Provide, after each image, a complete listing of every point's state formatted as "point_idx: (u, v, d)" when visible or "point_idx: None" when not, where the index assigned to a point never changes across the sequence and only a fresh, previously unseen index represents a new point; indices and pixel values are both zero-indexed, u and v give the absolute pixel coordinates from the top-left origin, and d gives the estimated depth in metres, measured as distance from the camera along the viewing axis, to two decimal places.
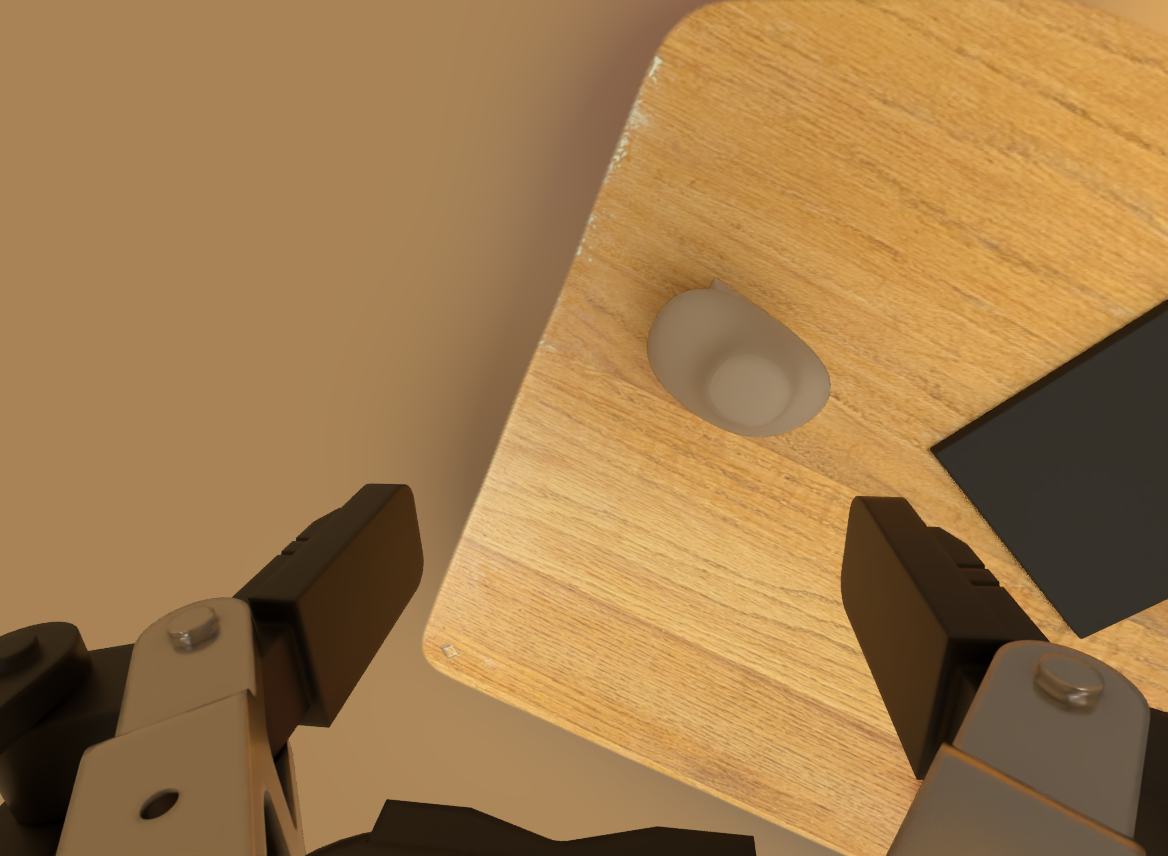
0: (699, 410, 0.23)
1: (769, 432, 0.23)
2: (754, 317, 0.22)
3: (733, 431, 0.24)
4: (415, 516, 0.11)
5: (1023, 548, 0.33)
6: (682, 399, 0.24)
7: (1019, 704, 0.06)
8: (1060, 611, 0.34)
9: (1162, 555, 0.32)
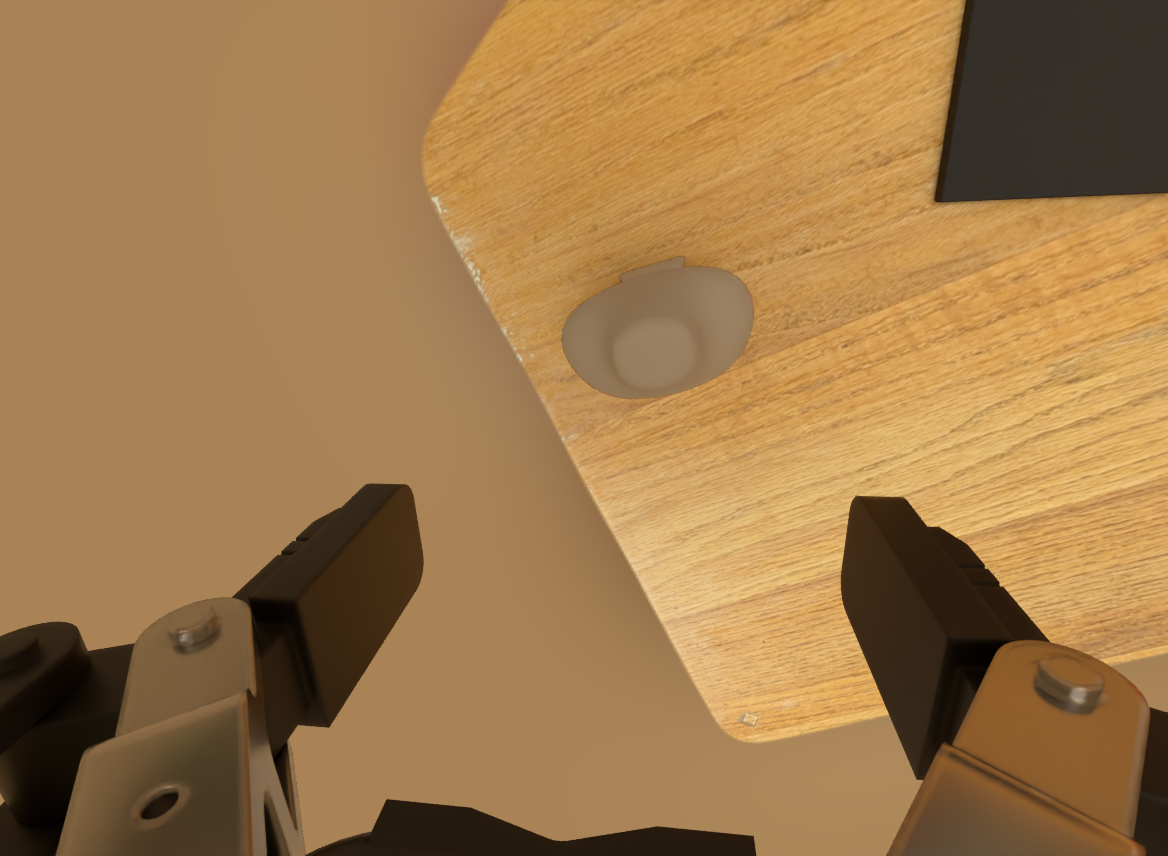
0: (661, 393, 0.23)
1: (727, 354, 0.22)
2: (617, 295, 0.22)
3: (705, 380, 0.23)
4: (415, 516, 0.11)
5: (1135, 180, 0.26)
6: (644, 397, 0.24)
7: (1019, 704, 0.06)
8: None
9: None
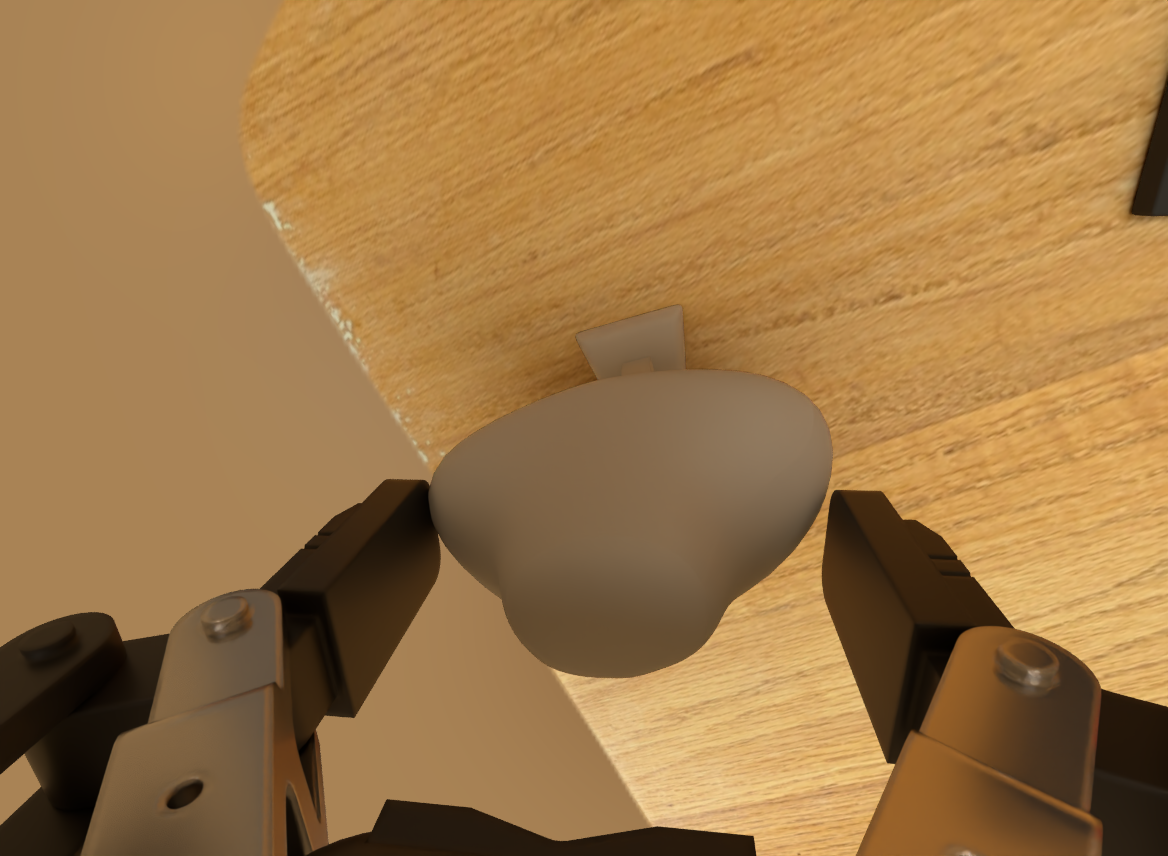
0: None
1: (777, 561, 0.10)
2: (532, 438, 0.10)
3: None
4: None
5: None
6: None
7: (981, 688, 0.06)
8: None
9: None
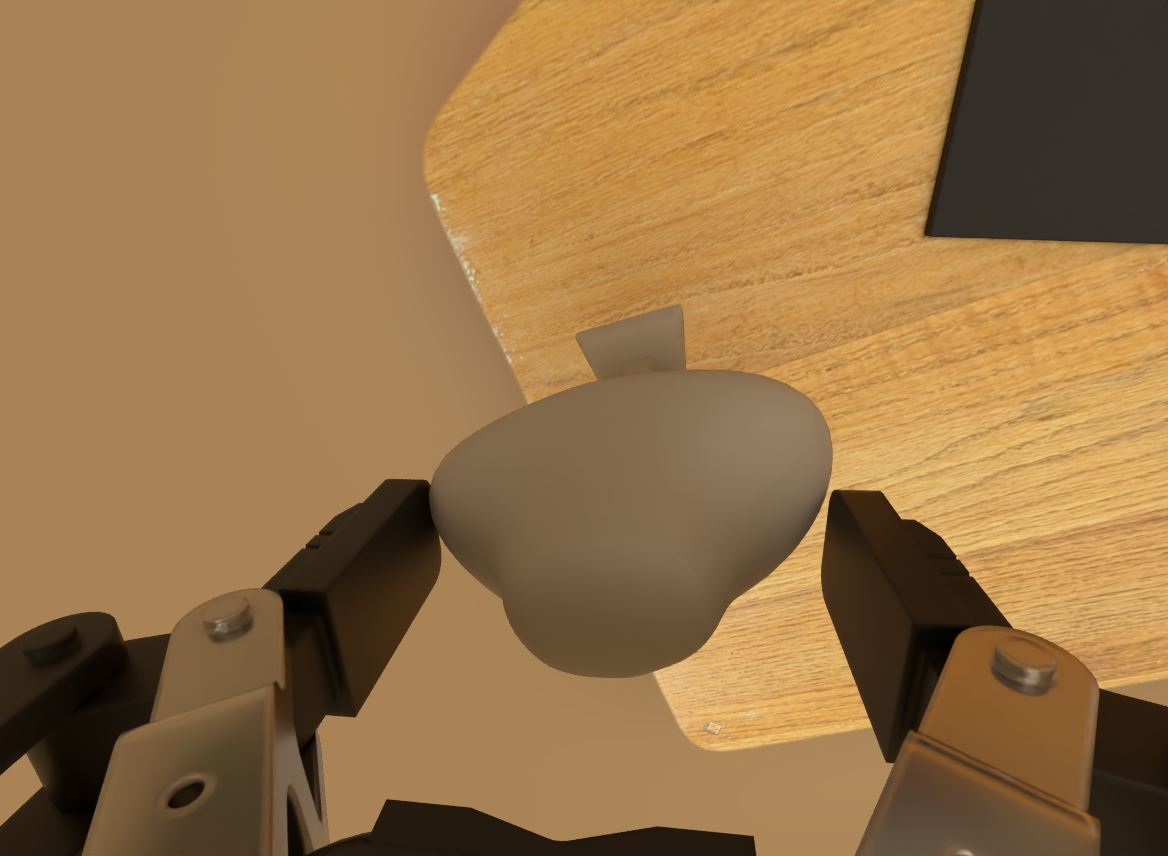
0: None
1: (778, 562, 0.10)
2: (532, 439, 0.10)
3: None
4: None
5: (1117, 228, 0.26)
6: None
7: (979, 688, 0.06)
8: None
9: None
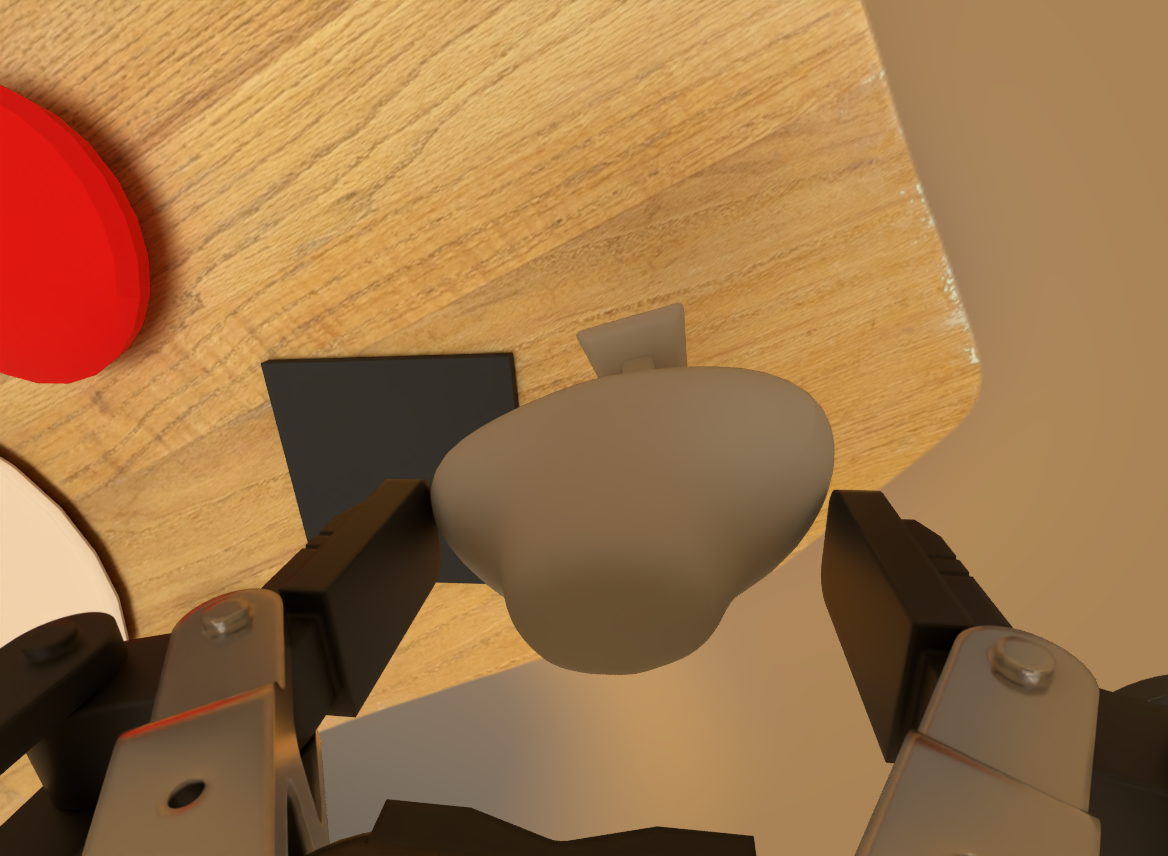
0: None
1: (779, 558, 0.10)
2: (534, 436, 0.10)
3: None
4: None
5: (379, 369, 0.34)
6: None
7: (979, 688, 0.06)
8: (298, 363, 0.34)
9: (325, 452, 0.36)
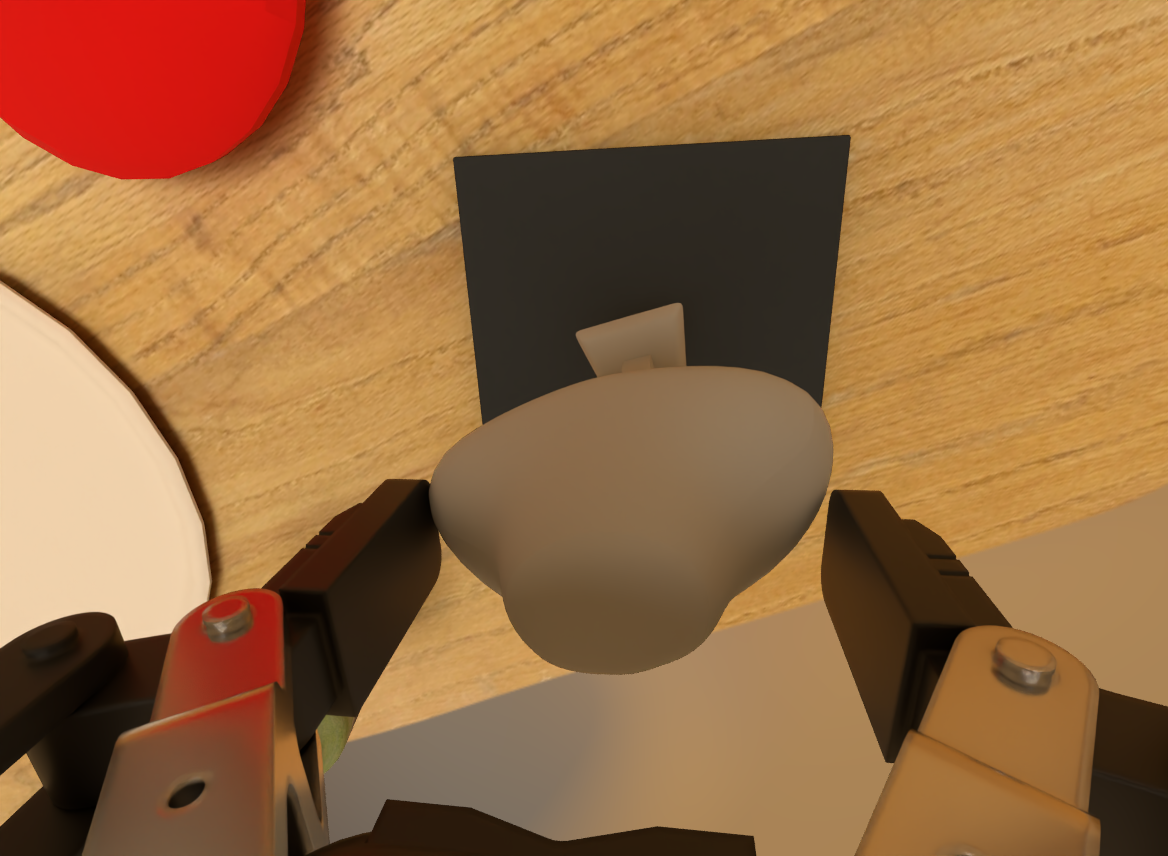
0: None
1: (778, 558, 0.10)
2: (533, 435, 0.10)
3: None
4: None
5: (638, 163, 0.23)
6: None
7: (979, 688, 0.06)
8: (512, 155, 0.23)
9: (532, 300, 0.25)
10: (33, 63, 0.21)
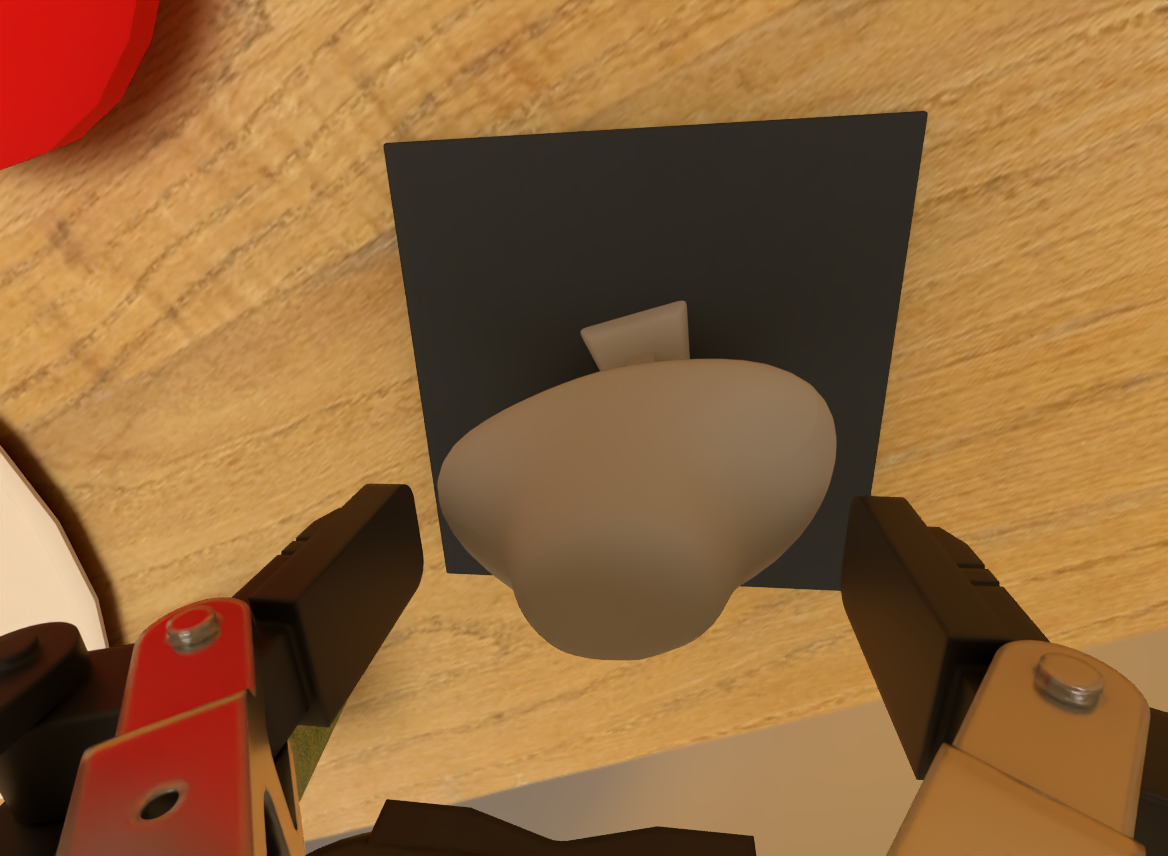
0: None
1: (782, 548, 0.10)
2: (540, 426, 0.10)
3: None
4: (415, 516, 0.11)
5: (632, 150, 0.17)
6: None
7: (1019, 704, 0.06)
8: (461, 141, 0.17)
9: (493, 333, 0.19)
10: None
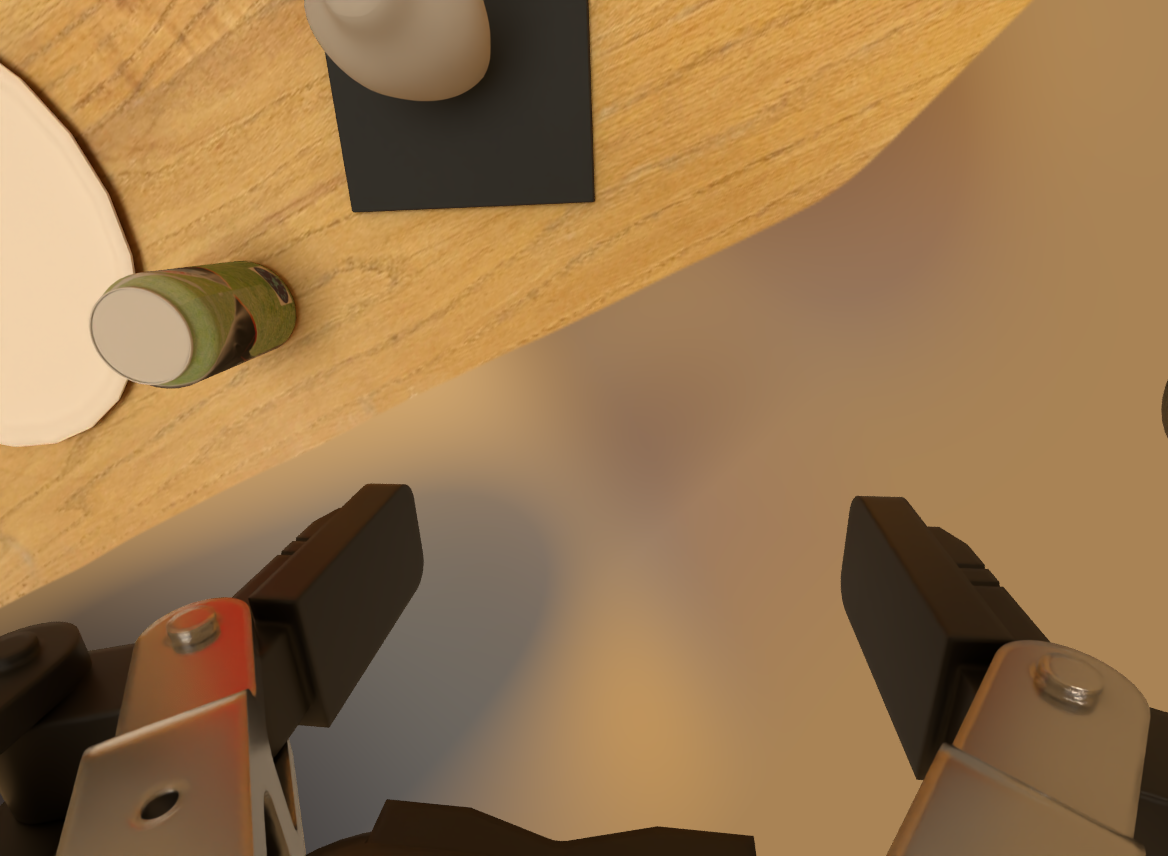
0: (393, 57, 0.25)
1: (444, 9, 0.24)
2: None
3: (435, 45, 0.25)
4: (415, 516, 0.11)
5: None
6: (385, 69, 0.25)
7: (1019, 704, 0.06)
8: None
9: None
10: None
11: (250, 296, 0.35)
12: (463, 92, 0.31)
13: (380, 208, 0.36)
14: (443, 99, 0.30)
